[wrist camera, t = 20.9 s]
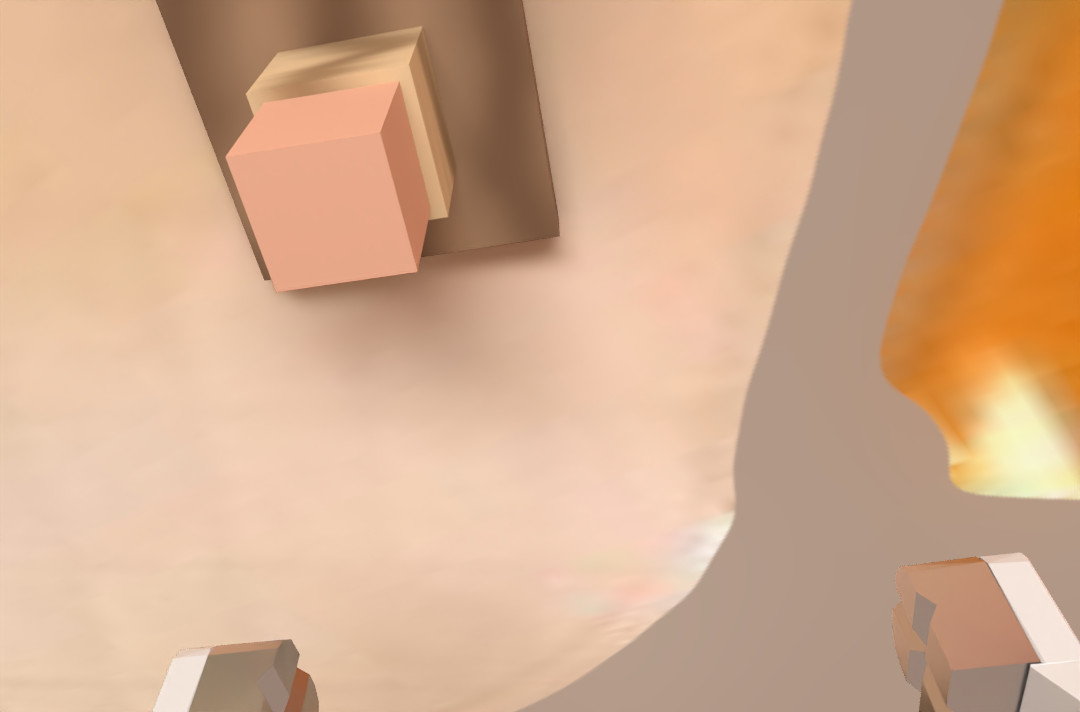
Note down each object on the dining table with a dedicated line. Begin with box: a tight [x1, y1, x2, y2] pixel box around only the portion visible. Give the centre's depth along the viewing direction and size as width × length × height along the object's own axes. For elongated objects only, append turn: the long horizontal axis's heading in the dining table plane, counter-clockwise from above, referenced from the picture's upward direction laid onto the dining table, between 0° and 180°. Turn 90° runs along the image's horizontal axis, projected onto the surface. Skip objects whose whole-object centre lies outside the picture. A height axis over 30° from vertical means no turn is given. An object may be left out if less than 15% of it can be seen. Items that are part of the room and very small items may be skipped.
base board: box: [156, 0, 559, 280], centre depth 39 cm, size 14×14×2 cm
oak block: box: [246, 26, 456, 220], centre depth 36 cm, size 6×6×5 cm
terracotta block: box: [226, 81, 431, 292], centre depth 32 cm, size 5×5×5 cm
